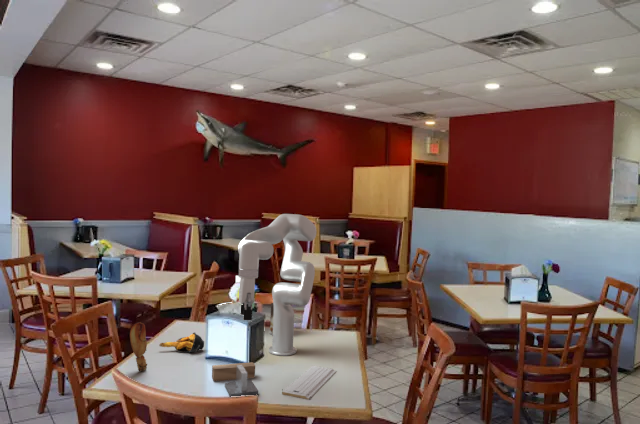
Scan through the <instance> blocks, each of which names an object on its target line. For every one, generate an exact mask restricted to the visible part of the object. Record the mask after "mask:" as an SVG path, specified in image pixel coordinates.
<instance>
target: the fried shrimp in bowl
mask: <svg viewBox="0 0 640 424" xmlns="http://www.w3.org/2000/svg"><path fill="white" fill-rule="evenodd" d="M159 347H162V348H172V347H173V348H175V350H176V351H177V352H178V353H182V354H184V353H189V354H190V353H196V352H198V351H202V350H203V349H204V347H205V341H204V340H203V339H202V337H201V336H200V335H199V334H197V333H196V332H193V333H191V334H190V335H189V336H184V337H180V338H178V339H177V340H176V341H165V342H159Z"/></svg>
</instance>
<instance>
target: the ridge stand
mask: <svg viewBox="0 0 640 424" xmlns="http://www.w3.org/2000/svg"><path fill="white" fill-rule="evenodd" d="M247 374H248V373H247V372H246V370H245V369H244V367H243V366H242V365H237V368H236V379H235V380H234V381H229V382H228V381H227V382H224V388H225V390H226V392H227V394H228V396H229V397H230V396H241V395H254V396H259V393H260V392H259V389H258V388H257V387H256V385H255V383H254V382H253V380H252V379H248V378H247ZM256 394H257V395H256Z"/></svg>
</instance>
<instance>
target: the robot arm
mask: <svg viewBox="0 0 640 424" xmlns="http://www.w3.org/2000/svg"><path fill="white" fill-rule="evenodd" d="M316 237H317V228H316V225H315V224H314V222H313V221H311V220H310V219H309V217H307V216H305V215H302V214H298V213H297V214H296V213H294V214H293V213H282V214H279V215H278V216H277V217H276V218H274V220H273V221H272V222H271V223H270V224H269V225H267V226H265V227H262V228H258V229H256V230H254V231H252V232H249V233H248V234H247V235H246V236H244V237H243V238H242V239H241V240H240V242H239V243H238V246H237V252H238V254H239V260H238V275H237V276H238V277H240V278H241V279H240V289H239V301H240V303H241V304H243V305H241V313H240V314H241V315H244V317H243V320H253V304H254V302H255V291H256V289H255V287H256V286H255V285H256V279H258V277H259V265H260V264H259V262H260V260H263V261H264V260H265V261H266V260H269V259H271V257H272V256H273V254H274V250H275V249H274V246H273V245H276V244H278V243H281V242H282V241H283V244H284V254H283V258H282V263H281V268H280V278H281V279H282V280H284V281H289V282H284V281H283V282H282V281H281V282H277V283H275V284H274V285H273V287H272V290H271V295H272V303H273V305H274V315H273V335H272V343H271V344H272V345H271V346H270V347H268V352H269V354H272V355H275V356H281V357H282V356H290V355H291V356H292V355H294V354H296V353H297V348H296V347H294V335H295V334H294V331H295V330H294V329H295V311H294V308H293V306H297V307H299V306H300V307H305V306H307V305H308V304H309V302H310V300H311V295H312V292H313V291H312V290H313V285H314V280H315V274H316V272H315V271H316V269H315V266H314V264H313V263H312V262H309V261H304V260H303V253H304V251H303V248H302V246H301V244H300V243H299V242H300V241H301V242H312V241H314V240H315V238H316ZM298 241H299V242H298ZM292 282H293V283H292ZM294 282H297V283H294ZM298 282H299V283H298Z"/></svg>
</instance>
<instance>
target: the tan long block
mask: <svg viewBox="0 0 640 424" xmlns="http://www.w3.org/2000/svg"><path fill="white" fill-rule="evenodd" d="M237 365H242V366H243V367H244V369H245V370H246V372H247V373H248V374H247V379H254V378H256V364H255V363H254V362H243V363H242V362H239V363H238V362H237V363H230V364H229V363H228V364H217V365H214V364H213V365H212V367H211V371H212V372H211V379H212V381H213V382H220V381H236V368H237Z"/></svg>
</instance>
